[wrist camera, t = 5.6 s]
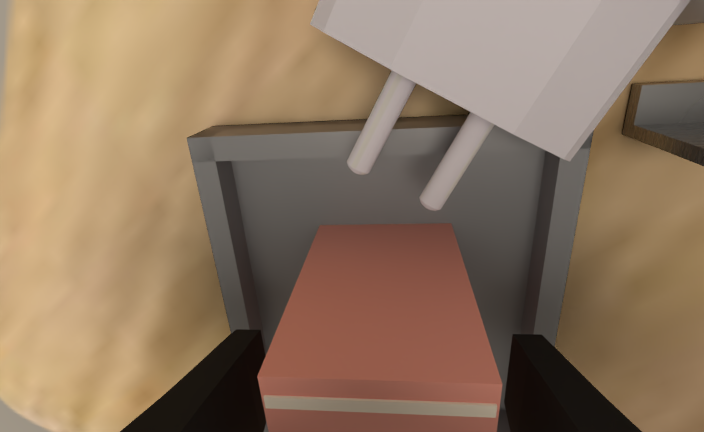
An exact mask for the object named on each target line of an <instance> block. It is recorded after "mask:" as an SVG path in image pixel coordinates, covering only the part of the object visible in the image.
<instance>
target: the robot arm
mask: <svg viewBox="0 0 704 432" xmlns="http://www.w3.org/2000/svg"><path fill="white" fill-rule="evenodd" d="M265 357H266V355H265V350H264V345H263V340H262V334H261V330H247V329H236V330H235V331H234V332H233V333H231V334H230V335H229V336H228V337H227V338H226V339H225V340H224V341H223V342H221V343H220V344H219V345H218V346H217V347H216V348H215V349H214V350H213V351H212V352H211V353H210V354H209V355H207V356H206V357H205V358H204V359H203V360H202V361H201V362H200V363H199V364H198V365H197V366H196V367H194V368H193V369H192V370H191V371H190V372H189V373H188V374H187V375H186V376H184V377H183V378H182V379H181V380H180V381H179V382H178V383H177V384H176V385H175V386H173V387H172V388H171V389H170V390H169V391H168V392H167V393H166V394H164V395H163V396H162V397H161V398H160V399H159V400H157V401H156V402H155V403H154V404H153V405H151V406H150V407H149V408H148V409H147V410H145V411H144V412H143V413H142V414H141V415H140V416H138V417H137V418H136V419H135V420H134V421H132V422H131V423H130V424H129V425H128V426H126V427H125V428H124V429H123V430H122V431H120V432H264V429H265V425H266V417H265V412H264V407H263V402H262V397H261V392H260V387H259V383H258V378H257V376H258V373H259V371H260V369H261V366H262V364H263V361H264V359H265ZM504 404H505V409H506V414H507V418H508V423H509V428H510V432H642V431H641V430H640V429H638V428H637V427H636V426H635V425H634V424H633V423H632V422H631V421H630V420H629V419H628V418H627V417H625V416H624V415H623V414H622V413H621V412H620V411H619V410H618V409H617V408H616V407H615V406H614V405H613V404H612V403H611V402H610V401H608V400H607V399H606V398H605V397H604V396H603V395H602V394H601V393H600V392H599V391H598V390H597V389H596V388H595V387H594V386H593V385H592V384H591V383H590V382H589V381H588V380H587V379H586V378H585V377H584V376H583V375H582V374H581V373H580V372H579V371H578V370H577V369H576V368H575V367H574V366H573V365H572V364H571V363H570V362H569V361H568V360H567V359H566V358H565V357H564V356H563V355H562V354H561V353H560V352H559V351H558V350H557V349H556V348H555V347H554V346H553V345H552V344H551V343H550V342H549V341H548V340H547V339H546V338H545V337H544V336H543V335H542V334H512V342H511V350H510V358H509V366H508V374H507V382H506V390H505V398H504Z"/></svg>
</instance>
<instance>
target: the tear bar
mask: <svg viewBox="0 0 704 432" xmlns="http://www.w3.org/2000/svg"><path fill="white" fill-rule="evenodd" d="M622 134H623V135H626V136H628V137H631V138H633V139H636V140H638V141H641V142H644V143H646V144H649V145H651V146H654V147H656V148H659V149H661V150H664V151H666V152H669V153H671V154H674V155H677V156H679V157H682V158H684V159H687V160H689V161H692V162H694V163H697V164H699V165H702V166H704V80H695V81H676V82H656V83H637V84H633V85H632V89H631V94H630V99H629V104H628V108H627V113H626V118H625V123H624V128H623V132H622Z"/></svg>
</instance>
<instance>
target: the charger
mask: <svg viewBox="0 0 704 432" xmlns="http://www.w3.org/2000/svg"><path fill="white" fill-rule="evenodd" d="M694 23H704V0H319V2H318V5H317V7H316V10H315V12H314V15H313V18H312V20H311V23H310V25H312V26H314V27H315V28H317V29H319V30H320V31H322V32H324V33H326V34H327V35H329V36H331V37H333V38H335V39H336V40H338V41H340V42H342V43H344V44H345V45H347V46H349V47H351V48H353V49H354V50H356V51H358V52H360V53H362V54H363V55H365V56H367V57H369V58H371V59H372V60H374V61H376V62H378V63H380V64H381V65H383V66H385V67H387V68H389V69H390V70H392V71H391V73H390V75H389V77H388V79H387V81H386V83H385V85H384V87H383V89H382V91H381V93H380V95H379V97H378V99H377V101H376V103H375V105H374V107H373V109H372V111H371V113H370V115H369V117H368V119H367V121H366V123H365V125H364V128H363V130H362V132H361V134H360V136H359V138H358V140H357V142H356V144H355V146H354V148H353V150H352V152H351V154H350V156H349V158H348V160H347V164H348V167H349V168H350V169H351V170H352V171H353V172H354V173H356V174H360V175H365V174H368V173H369V172H370V170H371V168H372V167H373V165H374V163H375V161H376V159H377V157H378V155H379V153H380V151H381V149H382V148H383V146H384V144H385V142H386V140H387V138H388V136H389V134H390V132H391V131H392V129H393V127H394V125H395V123H396V121H397V119H398V117H399V115H400V113H401V112H402V110H403V108H404V106H405V104H406V102H407V100H408V98H409V96H410V94H411V93H412V91H413V89H414V87H415V85H416V83H417V84H419V85H421V86H423V87H424V88H426V89H428V90H430V91H432V92H434V93H436V94H438V95H440V96H442V97H443V98H445V99H447V100H449V101H451V102H453V103H455V104H457V105H459V106H460V107H462V108H464V109H466V110H468V111H470V114H469V115H468V117H467V119H466V120H465V122H464V124H463V125H462V127H461V129H460V130H459V132H458V134H457V135H456V137H455V139H454V140H453V142H452V144H451V145H450V147H449V149H448V150H447V152H446V154H445V155H444V157H443V159H442V160H441V162H440V164H439V165H438V167H437V169H436V170H435V172H434V174H433V175H432V177H431V179H430V180H429V182H428V184H427V185H426V187H425V189H424V190H423V192H422V194H421V195H420V197H419V199H420V202H421V204H422V205H423V206H424V207H425V208H427V209H428V210H433V211H436V210H440V209H441V208H442V207H443V205H444V204H445V202H446V200H447V199H448V197H449V196H450V194H451V193H452V191H453V189H454V188H455V186H456V185H457V183H458V182H459V180H460V178H461V177H462V175H463V174H464V172H465V171H466V169H467V167H468V166H469V164H470V163H471V161H472V160H473V158H474V156H475V155H476V153H477V152H478V150H479V149H480V147H481V145H482V144H483V142H484V141H485V139H486V138H487V136H488V134H489V133H490V131H491V130H492V128H493V127H494V125H496V126H498V127H500V128H502V129H504V130H506V131H508V132H510V133H512V134H513V135H515V136H518V137H520V138H522V139H524V140H526V141H528V142H530V143H532V144H534V145H536V146H538V147H540V148H542V149H544V150H546V151H548V152H550V153H552V154H554V155H556V156H558V157H560V158H562V159H564V160H567V161H569V162H570V161H571V159H572V158H573V157H574V155H575V154H576V153H577V151H578V150H579V149H580V147H581V146H582V145H583V143H584V142H585V141H586V139H587V138H588V137H589V135H590V134H591V133H592V131H593V130H594V129H595V127H596V126H597V125H598V123H599V122H600V121H601V119H602V118H603V117H604V115H605V114H606V113H607V111H608V110H609V109H610V107H611V106H612V105H613V103H614V102H615V101H616V99H617V98H618V97H619V95H620V94H621V93H622V91H623V90H624V89H625V87H626V86H627V85H628V83H629V82H630V81H631V79H632V78H633V77H634V75H635V74H636V73H637V71H638V70H639V69H640V67H641V66H642V65H643V63H644V62H645V61H646V59H647V58H648V57H649V55H650V54H651V53H652V51H653V50H654V49H655V47H656V46H657V45H658V43H659V42H660V41H661V39H662V38H663V37H664V35H665V34H666V33H667V31H668V30H669V29H670V27H671V26H672V25H682V24H694Z"/></svg>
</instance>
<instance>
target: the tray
mask: <svg viewBox="0 0 704 432" xmlns="http://www.w3.org/2000/svg"><path fill="white" fill-rule="evenodd" d="M467 117H468V115H448V116H426V117H404V118H398V119H397V121H396V123H395V125H394V127H393V129H392V131H391V132H390V134H389V136H388V138H387V140H386V142H385V144H384V146H383V148H382V149H381V151H380V153H379V155H378V157H377V159H376V161H375V163H374V165H373V167H372V168H371V170H370V172H369V173H368V174H365V175H360V174H356V173H354V172H353V171H352V170H351V169H350V168H349V167H348V164H347V160H348V158H349V156H350V154H351V152H352V150H353V148H354V146H355V144H356V142H357V140H358V138H359V136H360V134H361V132H362V130H363V128H364V125H365V123H366V121H367V119H359V120H337V121H315V122H293V123H270V124H248V125H226V126H212V127H210V128H208V129H205V130H203V131H201V132H199V133H197V134H194V135H192V136H190V137H188V138H187V142H188V146H189V150H190V155H191V159H192V164H193V168H194V172H195V177H196V181H197V186H198V190H199V194H200V199H201V203H202V208H203V212H204V216H205V221H206V225H207V230H208V234H209V238H210V243H211V247H212V252H213V256H214V260H215V265H216V269H217V273H218V278H219V282H220V287H221V291H222V295H223V300H224V304H225V309H226V313H227V317H228V322H229V326H230V331H231V333H233V332H234V331H235V330H236V329H247V330H261V334H262V340H263V345H264V350H265V355H266V354H267V352H268V349H269V347H270V344H271V342H272V340H273V337H274V335H275V332H276V330H277V327H278V325H279V323H280V320H281V318H282V315H283V313H284V311H285V308H286V306H287V303H288V301H289V298H290V296H291V294H292V291H293V289H294V286H295V284H296V281H297V279H298V277H299V274H300V272H301V269H302V267H303V265H304V262H305V260H306V257H307V255H308V252H309V250H310V248H311V245H312V243H313V240H314V238H315V235H316V233H317V231H318V228H319V226H320V225H363V224H437V223H451V224H452V227H453V230H454V234H455V237H456V240H457V243H458V246H459V249H460V252H461V255H462V259H463V262H464V265H465V268H466V271H467V274H468V277H469V281H470V284H471V287H472V290H473V293H474V296H475V299H476V303H477V306H478V309H479V312H480V315H481V318H482V321H483V325H484V328H485V331H486V334H487V337H488V340H489V343H490V347H491V350H492V353H493V356H494V359H495V362H496V365H497V369H498V372H499V375H500V378H501V381H502V392H501V401H500V409H499V417H498V425H497V432H510V428H509V423H508V418H507V414H506V409H505V404H504V398H505V390H506V382H507V374H508V366H509V358H510V350H511V342H512V334H542V335H543V336H544V337H545V338H546V339H547V340H548V341H549V342H550V343H551V344H552V345H553V346H554V347H555V341H556V335H557V330H558V324H559V319H560V313H561V308H562V302H563V297H564V291H565V286H566V280H567V275H568V269H569V264H570V258H571V252H572V247H573V241H574V236H575V230H576V225H577V219H578V214H579V208H580V203H581V197H582V192H583V186H584V181H585V175H586V169H587V164H588V158H589V153H590V147H591V142H592V136H593V131H594V130H593V131H592V133H591V134H590V135H589V137H588V138H587V139H586V141H585V142H584V143H583V145H582V146H581V147H580V149H579V150H578V151H577V153H576V154H575V155H574V157H573V158H572V159H571V161H570V162H569V161H567V160H564V159H562V158H560V157H558V156H556V155H554V154H552V153H550V152H548V151H546V150H544V149H542V148H540V147H538V146H536V145H534V144H532V143H530V142H528V141H526V140H524V139H522V138H520V137H518V136H515V135H513V134H512V133H510V132H508V131H506V130H504V129H502V128H500V127H498V126H496V125H494V127H493V128H492V130H491V131H490V133H489V134H488V136H487V138H486V139H485V141H484V142H483V144H482V145H481V147H480V149H479V150H478V152H477V153H476V155H475V156H474V158H473V160H472V161H471V163H470V164H469V166H468V167H467V169H466V171H465V172H464V174H463V175H462V177H461V178H460V180H459V182H458V183H457V185H456V186H455V188H454V189H453V191H452V193H451V194H450V196H449V197H448V199H447V200H446V202H445V204H444V205H443V207H442V208H441V209H440V210H436V211H433V210H428V209H427V208H425V207H424V206H423V205H422V204H421V202H420V199H419V197H420V195H421V194H422V192H423V190H424V189H425V187H426V185H427V184H428V182H429V180H430V179H431V177H432V175H433V174H434V172H435V170H436V169H437V167H438V165H439V164H440V162H441V160H442V159H443V157H444V155H445V154H446V152H447V150H448V149H449V147H450V145H451V144H452V142H453V140H454V139H455V137H456V135H457V134H458V132H459V130H460V129H461V127H462V125H463V124H464V122H465V120H466V119H467ZM264 432H269V431H268V427H267V422H266V425H265V429H264Z"/></svg>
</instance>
